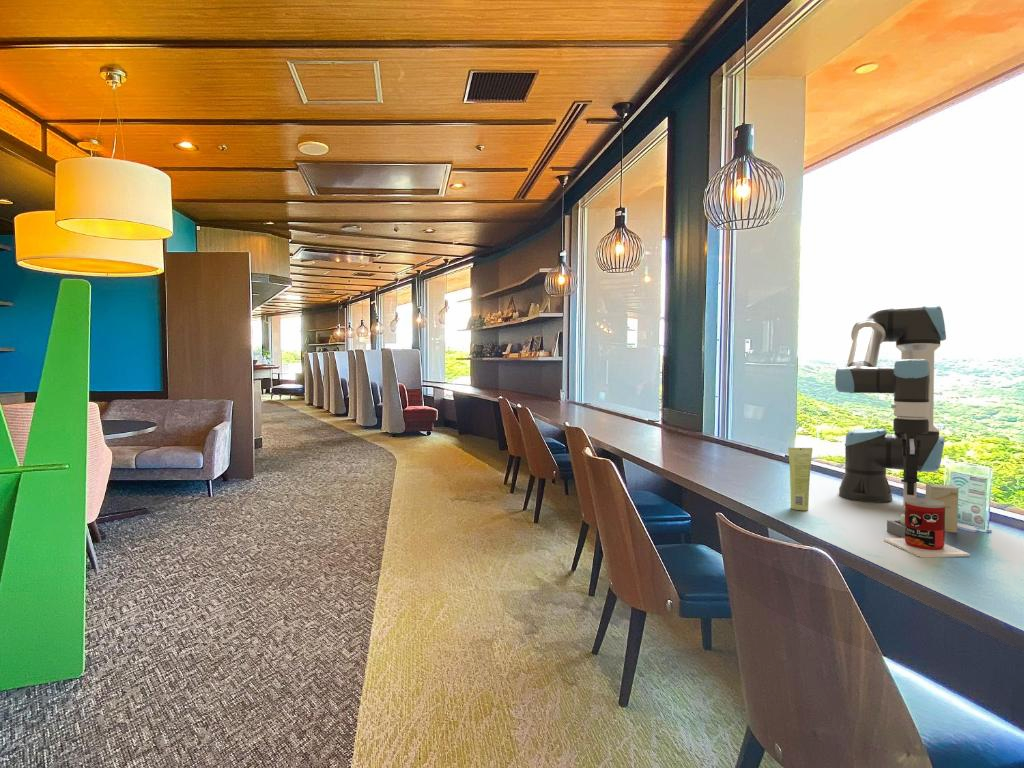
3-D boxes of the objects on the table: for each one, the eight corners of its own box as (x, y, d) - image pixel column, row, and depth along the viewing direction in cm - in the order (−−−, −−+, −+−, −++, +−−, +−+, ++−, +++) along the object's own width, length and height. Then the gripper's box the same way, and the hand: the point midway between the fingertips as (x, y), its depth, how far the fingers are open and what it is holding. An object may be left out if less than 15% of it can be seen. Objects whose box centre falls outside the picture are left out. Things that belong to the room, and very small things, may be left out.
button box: (912, 530, 146) (912, 519, 145) (932, 539, 139) (933, 527, 138) (886, 531, 145) (887, 520, 145) (906, 539, 138) (906, 528, 138)
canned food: (897, 542, 134) (898, 499, 134) (917, 538, 137) (918, 496, 137) (931, 552, 127) (931, 506, 127) (951, 547, 130) (952, 503, 130)
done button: (911, 525, 144) (911, 514, 144) (922, 529, 140) (922, 518, 140) (896, 525, 144) (896, 514, 144) (907, 530, 140) (908, 518, 140)
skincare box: (930, 530, 145) (930, 486, 145) (924, 526, 149) (924, 483, 149) (958, 533, 143) (959, 488, 143) (951, 528, 147) (952, 484, 147)
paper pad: (928, 539, 138) (928, 537, 138) (969, 556, 126) (969, 553, 126) (883, 540, 138) (883, 538, 138) (920, 557, 126) (920, 554, 126)
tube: (795, 505, 173) (795, 445, 172) (812, 508, 169) (812, 447, 168) (787, 508, 169) (787, 447, 168) (804, 512, 165) (804, 449, 164)
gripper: (892, 415, 148) (891, 499, 149) (894, 419, 138) (893, 509, 138) (926, 416, 144) (925, 502, 145) (931, 420, 133) (930, 514, 134)
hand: (909, 506), depth 142 cm, fingers closed
